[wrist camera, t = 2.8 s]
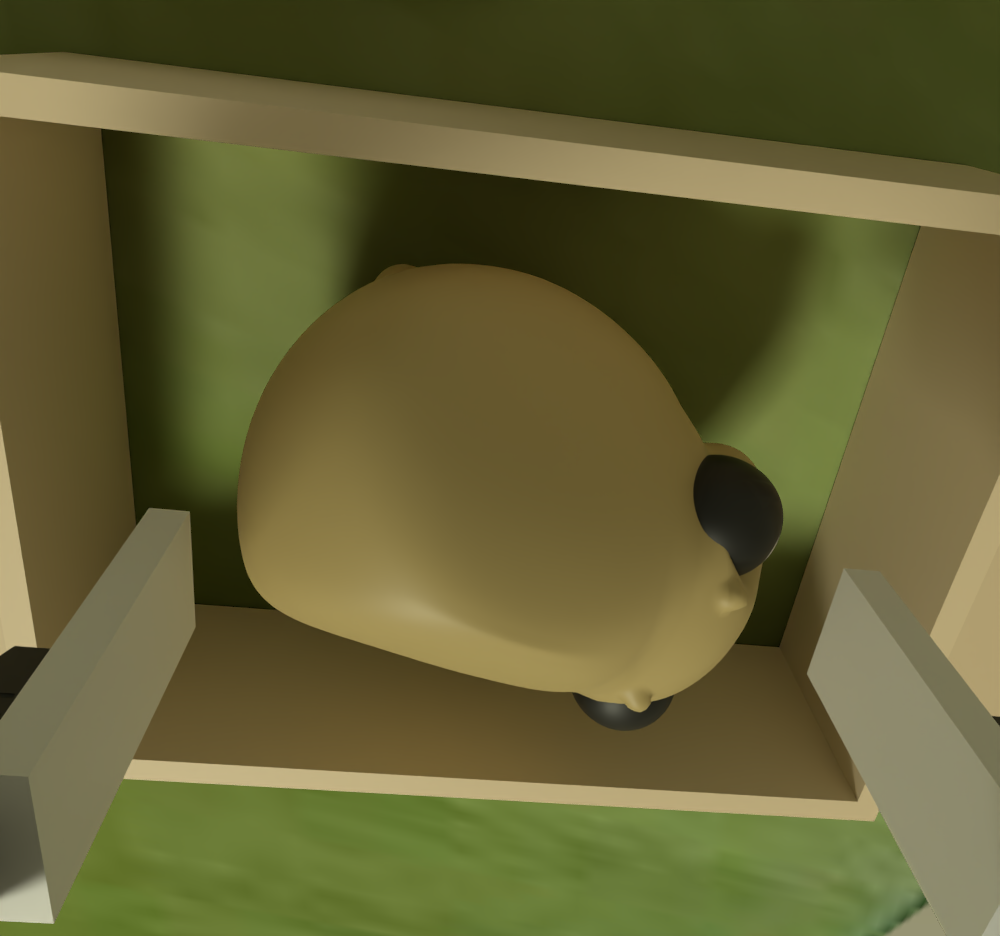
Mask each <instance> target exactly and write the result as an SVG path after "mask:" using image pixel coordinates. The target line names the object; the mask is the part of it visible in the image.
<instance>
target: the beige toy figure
mask: <svg viewBox="0 0 1000 936" xmlns="http://www.w3.org/2000/svg"><path fill="white" fill-rule="evenodd" d="M237 521H238V533H239V541H240V547H241V552H242V557H243V561H244V565H245V568H246V571H247V574H248V576H249V578H250V580H251V582H252V584H253V585H254V587H255V588H256V590H257V591H258V592H259V594H260V595H261V596H262V597H263V598H264V599H265V600H266V601H267V602H268V603H269V604H270V605H272V606H273V607H274V608H276V609H277V610H279V611H280V612H282V613H284V614H286V615H287V616H289V617H291V618H293V619H295V620H298V621H300V622H302V623H305V624H307V625H310V626H312V627H315V628H318V629H320V630H323V631H326V632H329V633H332V634H335V635H338V636H341V637H345V638H348V639H351V640H354V641H357V642H360V643H364V644H367V645H370V646H373V647H376V648H380V649H383V650H386V651H389V652H392V653H396V654H399V655H402V656H405V657H409V658H412V659H415V660H418V661H422V662H425V663H428V664H432V665H435V666H438V667H442V668H445V669H449V670H453V671H456V672H460V673H464V674H468V675H472V676H476V677H480V678H484V679H488V680H492V681H496V682H500V683H504V684H509V685H513V686H518V687H523V688H528V689H534V690H541V691H551V692H572V694H573V696H574V698H575V700H576V702H577V704H578V705H579V707H580V708H581V709H582V710H583V712H584V713H585V714H586V715H587V716H588V717H590V718H591V719H592V720H594V721H595V722H597V723H598V724H600V725H602V726H604V727H607V728H609V729H613V730H619V731H632V730H637V729H641V728H644V727H646V726H648V725H650V724H652V723H653V722H655V721H656V720H657V719H659V718H660V717H661V716H662V715H663V714H664V713H665V711H666V710H667V708H668V707H669V705H670V703H671V701H672V699H673V697H674V694H676V693H678V692H680V691H682V690H684V689H686V688H688V687H689V686H691V685H692V684H694V683H695V682H697V681H698V680H700V679H701V678H702V677H703V676H705V675H706V674H707V673H708V672H709V671H710V670H712V669H713V668H714V667H715V666H716V665H717V664H718V663H719V662H720V661H721V659H722V658H723V657H724V656H725V655H726V654H727V653H728V651H729V650H730V649H731V647H732V646H733V644H734V643H735V642H736V640H737V639H738V637H739V635H740V634H741V632H742V631H743V629H744V627H745V625H746V623H747V621H748V619H749V617H750V614H751V612H752V610H753V607H754V603H755V600H756V596H757V591H758V586H759V580H760V574H761V569H762V564H763V562H764V561H765V560H766V559H767V558H768V556H769V555H770V554H771V553H772V551H773V549H774V548H775V546H776V544H777V542H778V540H779V537H780V534H781V530H782V525H783V509H782V504H781V500H780V497H779V495H778V493H777V491H776V489H775V487H774V486H773V484H772V483H771V482H770V480H769V479H768V478H767V477H766V476H765V475H764V474H763V473H762V472H761V471H759V470H758V469H757V468H756V467H755V465H754V464H753V462H752V461H751V460H750V459H749V458H748V457H747V456H746V455H745V454H744V453H742V452H741V451H739V450H737V449H735V448H733V447H731V446H728V445H724V444H718V443H703V441H702V439H701V437H700V435H699V434H698V432H697V430H696V429H695V427H694V425H693V424H692V422H691V421H690V419H689V418H688V416H687V414H686V413H685V411H684V410H683V408H682V406H681V405H680V403H679V401H678V399H677V397H676V395H675V393H674V392H673V390H672V388H671V386H670V385H669V383H668V381H667V380H666V378H665V377H664V375H663V374H662V372H661V371H660V370H659V368H658V367H657V365H656V364H655V363H654V362H653V360H652V359H651V358H650V357H649V355H648V354H647V353H646V352H645V351H644V350H643V349H642V347H641V346H640V345H639V344H638V343H637V342H636V341H635V340H634V339H633V338H632V337H631V336H630V335H629V334H628V333H627V332H626V331H625V330H623V329H622V328H621V327H620V326H619V325H618V324H617V323H615V322H614V321H613V320H612V319H611V318H609V317H608V316H607V315H606V314H604V313H603V312H602V311H600V310H599V309H597V308H596V307H595V306H593V305H592V304H590V303H589V302H587V301H586V300H584V299H582V298H581V297H579V296H577V295H576V294H574V293H572V292H570V291H568V290H566V289H564V288H562V287H560V286H558V285H556V284H554V283H552V282H549V281H547V280H544V279H542V278H539V277H536V276H533V275H530V274H527V273H523V272H520V271H516V270H511V269H507V268H501V267H495V266H488V265H479V264H440V265H431V266H424V267H418V268H416V267H414V266H411V265H408V264H397V265H393V266H390V267H388V268H386V269H385V270H383V271H382V272H381V273H380V274H379V275H378V277H377V278H376V279H375V281H374V282H371V283H369V284H367V285H365V286H363V287H361V288H360V289H358V290H356V291H354V292H353V293H351V294H349V295H348V296H346V297H345V298H343V299H342V300H340V301H339V302H338V303H336V304H335V305H334V306H332V307H331V308H330V309H328V310H327V311H326V312H325V313H324V314H322V315H321V316H320V317H319V318H318V319H317V320H316V321H315V322H314V323H313V324H312V325H311V326H310V327H309V328H308V329H307V330H306V331H305V332H304V333H303V334H302V335H301V336H300V337H299V338H298V340H297V341H296V342H295V343H294V344H293V346H292V347H291V348H290V349H289V351H288V352H287V353H286V355H285V356H284V358H283V359H282V360H281V362H280V363H279V365H278V366H277V368H276V370H275V371H274V373H273V375H272V376H271V378H270V380H269V382H268V384H267V385H266V387H265V389H264V391H263V393H262V396H261V398H260V400H259V402H258V405H257V407H256V410H255V412H254V415H253V418H252V420H251V423H250V427H249V430H248V433H247V437H246V441H245V445H244V449H243V454H242V459H241V464H240V471H239V480H238V492H237Z"/></svg>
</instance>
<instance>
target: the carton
mask: <svg viewBox="0 0 1000 936" xmlns="http://www.w3.org/2000/svg"><path fill="white" fill-rule="evenodd" d="M101 128H103V129H112V130H120V131H129V132H137V133H145V134H154V135H162V136H171V137H179V138H187V139H196V140H204V141H213V142H221V143H229V144H238V145H246V146H255V147H263V148H272V149H280V150H288V151H297V152H305V153H314V154H322V155H330V156H339V157H347V158H356V159H364V160H373V161H381V162H389V163H398V164H406V165H415V166H423V167H431V168H440V169H448V170H457V171H465V172H474V173H482V174H490V175H499V176H507V177H516V178H524V179H532V180H541V181H549V182H558V183H566V184H574V185H583V186H591V187H600V188H608V189H617V190H625V191H633V192H642V193H650V194H659V195H667V196H675V197H684V198H692V199H701V200H709V201H718V202H726V203H734V204H743V205H751V206H760V207H768V208H776V209H785V210H793V211H802V212H810V213H818V214H827V215H835V216H844V217H852V218H861V219H869V220H877V221H886V222H894V223H903V224H911V225H919V226H921V227H920V230H919V233H918V236H917V239H916V242H915V245H914V248H913V251H912V254H911V257H910V260H909V263H908V266H907V269H906V272H905V275H904V277H903V280H902V283H901V286H900V289H899V292H898V295H897V298H896V301H895V304H894V307H893V310H892V313H891V316H890V319H889V322H888V325H887V328H886V331H885V334H884V337H883V340H882V343H881V346H880V349H879V352H878V355H877V358H876V361H875V364H874V367H873V370H872V373H871V376H870V379H869V382H868V385H867V388H866V391H865V393H864V396H863V399H862V402H861V405H860V408H859V411H858V414H857V417H856V420H855V423H854V426H853V429H852V432H851V435H850V438H849V441H848V444H847V447H846V450H845V453H844V456H843V459H842V462H841V465H840V468H839V471H838V474H837V477H836V480H835V483H834V486H833V489H832V492H831V495H830V498H829V501H828V504H827V507H826V510H825V512H824V515H823V518H822V521H821V524H820V527H819V530H818V533H817V536H816V539H815V542H814V545H813V548H812V551H811V554H810V557H809V560H808V563H807V566H806V569H805V572H804V575H803V578H802V581H801V584H800V587H799V590H798V593H797V596H796V599H795V602H794V605H793V608H792V611H791V614H790V617H789V620H788V623H787V626H786V628H785V631H784V634H783V637H782V640H781V643H780V646H779V647H770V646H756V645H743V644H733V646H732V647H731V649H730V650H729V651H728V653H727V654H726V655H725V656H724V657H723V658H722V659H721V661H720V662H719V663H718V664H717V665H716V666H715V667H714V668H713V669H712V670H710V671H709V672H708V673H707V674H706V675H705V676H703V677H702V678H701V679H700V680H698V681H697V682H695V683H694V684H692V685H691V686H689V687H688V688H686V689H684V690H682V691H680V692H678V693H676V694H674V697H673V699H672V701H671V703H670V705H669V707H668V708H667V710H666V711H665V713H664V714H663V715H662V716H661V717H660V718H659V719H657V720H656V721H655V722H653V723H652V724H650V725H648V726H646V727H644V728H641V729H637V730H632V731H619V730H613V729H609V728H607V727H604V726H602V725H600V724H598V723H597V722H595V721H594V720H592V719H591V718H590V717H588V716H587V715H586V714H585V713H584V712H583V710H582V709H581V708H580V707H579V705H578V704H577V702H576V700H575V698H574V696H573V694H572V692H551V691H541V690H534V689H528V688H523V687H518V686H513V685H509V684H504V683H500V682H496V681H492V680H488V679H484V678H480V677H476V676H472V675H468V674H464V673H460V672H456V671H453V670H449V669H445V668H442V667H438V666H435V665H432V664H428V663H425V662H422V661H418V660H415V659H412V658H409V657H405V656H402V655H399V654H396V653H392V652H389V651H386V650H383V649H380V648H376V647H373V646H370V645H367V644H364V643H360V642H357V641H354V640H351V639H348V638H345V637H341V636H338V635H335V634H332V633H329V632H326V631H323V630H320V629H318V628H315V627H312V626H310V625H307V624H305V623H302V622H300V621H298V620H295V619H293V618H291V617H289V616H287V615H286V614H284V613H282V612H280V611H279V610H269V609H255V608H242V607H228V606H215V605H201V604H195V624H196V627H195V629H194V631H193V634H192V636H191V638H190V640H189V642H188V644H187V646H186V648H185V650H184V652H183V654H182V657H181V659H180V661H179V663H178V665H177V667H176V669H175V671H174V673H173V675H172V677H171V680H170V682H169V684H168V686H167V688H166V690H165V692H164V694H163V696H162V698H161V700H160V703H159V705H158V707H157V709H156V711H155V713H154V715H153V717H152V719H151V721H150V723H149V726H148V728H147V730H146V732H145V734H144V736H143V738H142V740H141V742H140V744H139V746H138V749H137V751H136V753H135V755H134V757H133V759H132V761H131V763H130V765H129V767H128V769H127V772H126V774H125V776H124V778H123V779H137V780H155V781H173V782H190V783H208V784H226V785H243V786H261V787H279V788H296V789H314V790H332V791H349V792H367V793H385V794H402V795H420V796H438V797H455V798H473V799H491V800H508V801H526V802H544V803H561V804H579V805H597V806H614V807H632V808H650V809H668V810H685V811H703V812H721V813H738V814H756V815H774V816H791V817H809V818H827V819H844V820H862V821H874V820H875V818H876V816H877V814H878V812H879V809H878V807H877V805H876V803H875V801H874V799H873V797H872V796H871V794H870V792H869V790H868V788H867V786H866V784H865V782H864V781H863V779H862V777H861V775H860V773H859V771H858V769H857V767H856V765H855V764H854V762H853V760H852V758H851V756H850V754H849V752H848V750H847V748H846V747H845V745H844V743H843V741H842V739H841V737H840V735H839V733H838V732H837V730H836V728H835V726H834V724H833V722H832V720H831V718H830V716H829V715H828V713H827V711H826V709H825V707H824V705H823V703H822V701H821V700H820V698H819V696H818V694H817V692H816V690H815V688H814V686H813V684H812V683H811V681H810V679H809V677H808V675H807V672H808V669H809V666H810V663H811V660H812V657H813V654H814V652H815V649H816V646H817V643H818V640H819V637H820V635H821V632H822V629H823V626H824V623H825V620H826V618H827V615H828V612H829V609H830V606H831V603H832V601H833V598H834V595H835V592H836V589H837V586H838V584H839V581H840V578H841V575H842V572H843V569H844V568H848V569H860V570H871V571H880V572H881V574H882V575H883V576H884V577H885V579H886V580H887V581H888V583H889V584H890V585H891V586H892V588H893V589H894V590H895V592H896V593H897V594H898V596H899V597H900V598H901V599H902V601H903V602H904V603H905V605H906V606H907V607H908V608H909V610H910V611H911V612H912V614H913V615H914V616H915V617H916V619H917V620H918V621H919V623H920V624H921V625H922V627H923V628H924V629H925V630H926V632H927V633H928V634H929V636H930V637H931V638H932V639H933V641H934V642H935V643H936V645H937V646H938V647H939V649H940V650H941V651H942V652H943V654H944V655H945V656H946V658H947V659H948V660H949V661H950V663H951V664H952V665H953V667H954V668H955V669H956V671H957V672H958V673H959V674H960V676H961V677H962V678H963V680H964V681H965V682H966V683H967V685H968V686H969V687H970V689H971V690H972V691H973V692H974V694H975V695H976V696H977V698H978V699H979V700H980V702H981V703H982V704H983V705H984V707H985V708H986V709H987V711H988V712H989V713H990V714H991V716H999V717H1000V174H998V173H994V172H991V171H987V170H983V169H979V168H976V167H972V166H968V165H960V164H952V163H944V162H936V161H928V160H920V159H912V158H904V157H896V156H888V155H880V154H872V153H865V152H857V151H849V150H841V149H833V148H825V147H817V146H809V145H801V144H793V143H785V142H777V141H769V140H761V139H753V138H745V137H737V136H729V135H721V134H713V133H705V132H697V131H690V130H682V129H674V128H666V127H658V126H650V125H642V124H634V123H626V122H618V121H610V120H602V119H594V118H586V117H578V116H570V115H562V114H554V113H546V112H538V111H530V110H522V109H515V108H507V107H499V106H491V105H483V104H475V103H467V102H459V101H451V100H443V99H435V98H427V97H419V96H411V95H403V94H395V93H387V92H379V91H371V90H363V89H355V88H348V87H340V86H332V85H324V84H316V83H308V82H300V81H292V80H284V79H276V78H268V77H260V76H252V75H244V74H236V73H228V72H220V71H212V70H204V69H196V68H188V67H180V66H173V65H165V64H157V63H149V62H141V61H133V60H125V59H117V58H109V57H101V56H93V55H85V54H77V53H69V52H49V53H28V54H8V55H0V655H2V654H3V653H5V652H6V651H8V650H9V649H11V648H12V647H14V646H23V647H36V648H51V647H52V646H53V644H54V643H55V641H56V640H57V638H58V637H59V636H60V634H61V633H62V631H63V630H64V629H65V627H66V626H67V624H68V623H69V621H70V620H71V619H72V617H73V616H74V614H75V613H76V611H77V610H78V609H79V607H80V606H81V604H82V603H83V601H84V600H85V599H86V597H87V596H88V594H89V593H90V591H91V590H92V589H93V587H94V586H95V584H96V583H97V582H98V580H99V579H100V577H101V576H102V574H103V573H104V572H105V570H106V569H107V567H108V566H109V564H110V563H111V562H112V560H113V559H114V557H115V556H116V554H117V553H118V552H119V550H120V549H121V547H122V546H123V544H124V543H125V542H126V540H127V539H128V537H129V536H130V535H131V533H132V532H133V530H134V529H135V527H136V518H135V507H134V496H133V484H132V473H131V462H130V451H129V439H128V428H127V417H126V405H125V394H124V383H123V371H122V360H121V349H120V338H119V326H118V315H117V304H116V292H115V281H114V270H113V258H112V247H111V236H110V225H109V213H108V202H107V191H106V179H105V168H104V157H103V145H102V134H101Z"/></svg>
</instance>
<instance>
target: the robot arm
mask: <svg viewBox="0 0 1000 936" xmlns="http://www.w3.org/2000/svg"><path fill="white" fill-rule="evenodd" d="M195 627H196V624H195V604H194V584H193V564H192V544H191V524H190V511H179V510H168V509H156V508H149V509H148V510H147V512H146V513H145V515H144V516H143V517H142V519H141V520H140V522H139V523H138V525H137V526H136V527H135V529H134V530H133V532H132V533H131V535H130V536H129V537H128V539H127V540H126V542H125V543H124V544H123V546H122V547H121V549H120V550H119V552H118V553H117V554H116V556H115V557H114V559H113V560H112V562H111V563H110V564H109V566H108V567H107V569H106V570H105V572H104V573H103V574H102V576H101V577H100V579H99V580H98V582H97V583H96V584H95V586H94V587H93V589H92V590H91V591H90V593H89V594H88V596H87V597H86V599H85V600H84V601H83V603H82V604H81V606H80V607H79V609H78V610H77V611H76V613H75V614H74V616H73V617H72V619H71V620H70V621H69V623H68V624H67V626H66V627H65V629H64V630H63V631H62V633H61V634H60V636H59V637H58V638H57V640H56V641H55V643H54V644H53V646H52V647H51V648H36V647H23V646H14V647H12V648H11V649H9V650H8V651H6V652H5V653H3V654H2V655H0V921H12V922H32V923H53V924H54V922H55V920H56V918H57V916H58V914H59V912H60V910H61V907H62V905H63V903H64V901H65V899H66V897H67V895H68V893H69V891H70V889H71V887H72V884H73V882H74V880H75V878H76V876H77V874H78V872H79V870H80V868H81V866H82V864H83V861H84V859H85V857H86V855H87V853H88V851H89V849H90V847H91V845H92V843H93V841H94V838H95V836H96V834H97V832H98V830H99V828H100V826H101V824H102V822H103V820H104V818H105V815H106V813H107V811H108V809H109V807H110V805H111V803H112V801H113V799H114V797H115V795H116V792H117V790H118V788H119V786H120V784H121V782H122V780H123V778H124V776H125V774H126V772H127V769H128V767H129V765H130V763H131V761H132V759H133V757H134V755H135V753H136V751H137V749H138V746H139V744H140V742H141V740H142V738H143V736H144V734H145V732H146V730H147V728H148V726H149V723H150V721H151V719H152V717H153V715H154V713H155V711H156V709H157V707H158V705H159V703H160V700H161V698H162V696H163V694H164V692H165V690H166V688H167V686H168V684H169V682H170V680H171V677H172V675H173V673H174V671H175V669H176V667H177V665H178V663H179V661H180V659H181V657H182V654H183V652H184V650H185V648H186V646H187V644H188V642H189V640H190V638H191V636H192V634H193V631H194V629H195ZM807 675H808V677H809V679H810V681H811V683H812V684H813V686H814V688H815V690H816V692H817V694H818V696H819V698H820V700H821V701H822V703H823V705H824V707H825V709H826V711H827V713H828V715H829V716H830V718H831V720H832V722H833V724H834V726H835V728H836V730H837V732H838V733H839V735H840V737H841V739H842V741H843V743H844V745H845V747H846V748H847V750H848V752H849V754H850V756H851V758H852V760H853V762H854V764H855V765H856V767H857V769H858V771H859V773H860V775H861V777H862V779H863V781H864V782H865V784H866V786H867V788H868V790H869V792H870V794H871V796H872V797H873V799H874V801H875V803H876V805H877V807H878V809H879V811H880V813H881V814H882V816H883V818H884V820H885V822H886V824H887V826H888V828H889V829H890V831H891V833H892V835H893V837H894V839H895V841H896V843H897V845H898V846H899V848H900V850H901V852H902V854H903V856H904V858H905V860H906V862H907V863H908V865H909V867H910V869H911V871H912V873H913V875H914V877H915V878H916V880H917V882H918V884H919V886H920V888H921V890H922V892H923V894H924V895H925V897H926V899H927V901H928V903H929V905H930V907H931V908H932V910H933V912H934V914H935V916H936V918H937V920H938V921H939V924H940V926H941V927H942V929H943V931H944V933H945V935H946V936H1000V717H999V716H991V714H990V713H989V712H988V711H987V709H986V708H985V707H984V705H983V704H982V703H981V702H980V700H979V699H978V698H977V696H976V695H975V694H974V692H973V691H972V690H971V689H970V687H969V686H968V685H967V683H966V682H965V681H964V680H963V678H962V677H961V676H960V674H959V673H958V672H957V671H956V669H955V668H954V667H953V665H952V664H951V663H950V661H949V660H948V659H947V658H946V656H945V655H944V654H943V652H942V651H941V650H940V649H939V647H938V646H937V645H936V643H935V642H934V641H933V639H932V638H931V637H930V636H929V634H928V633H927V632H926V630H925V629H924V628H923V627H922V625H921V624H920V623H919V621H918V620H917V619H916V617H915V616H914V615H913V614H912V612H911V611H910V610H909V608H908V607H907V606H906V605H905V603H904V602H903V601H902V599H901V598H900V597H899V596H898V594H897V593H896V592H895V590H894V589H893V588H892V586H891V585H890V584H889V583H888V581H887V580H886V579H885V577H884V576H883V575H882V574H881V572H880V571H871V570H860V569H848V568H844V569H843V572H842V575H841V578H840V581H839V584H838V586H837V589H836V592H835V595H834V598H833V601H832V603H831V606H830V609H829V612H828V615H827V618H826V620H825V623H824V626H823V629H822V632H821V635H820V637H819V640H818V643H817V646H816V649H815V652H814V654H813V657H812V660H811V663H810V666H809V669H808V672H807Z"/></svg>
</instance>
